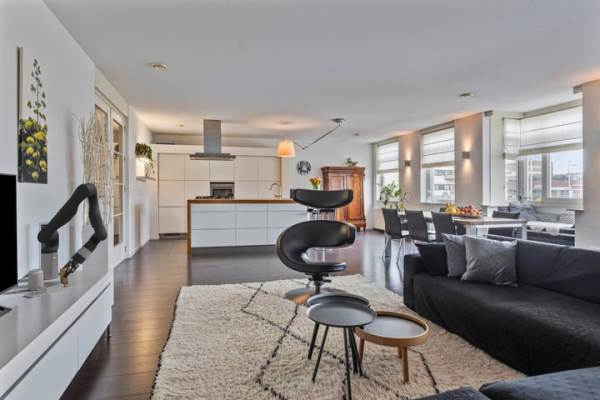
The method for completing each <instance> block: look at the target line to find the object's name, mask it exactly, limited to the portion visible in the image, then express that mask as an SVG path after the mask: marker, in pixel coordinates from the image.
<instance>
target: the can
mask: <svg viewBox="0 0 600 400" xmlns="http://www.w3.org/2000/svg"><path fill="white" fill-rule="evenodd" d="M44 280H45V279H43V271H42V269H41V268H35V269H29V270H28V272H27V287H28V290H29V291H31V292H35V291H38V286H39V285H44V284H45V283H44V282H45V281H44Z"/></svg>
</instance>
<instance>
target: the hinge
mask: <svg viewBox="0 0 600 400" xmlns="http://www.w3.org/2000/svg"><path fill="white" fill-rule="evenodd" d="M75 287H76V286H75V285H74V284H71V283H70V284H69V283H68V284H64V285H63V284H62V283H60V282H55V281H53V282H47V283H44V285H39V286H38V290H37V291H31V292H27V293H24V297H27V298H31V299H34V298H38V297H41V296H46V295H47V296H48V295H51V294H55V293H58V292H63V291H65V290H69V289H73V288H75Z"/></svg>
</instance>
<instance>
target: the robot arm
mask: <svg viewBox="0 0 600 400" xmlns="http://www.w3.org/2000/svg"><path fill="white" fill-rule="evenodd" d="M86 199H87V200H88V220H89V222H90V227H92V229H93V232H94V233H92V235H91V236H90V237H89V239H88V240H87V241H86V242H85V243H84V244H83V245H82V246H81V247H80V248H79V249H78V250H76V252H75V253H74V254H73V255H71V257H70V258H71V260H69V261H68V262H67V263H65V264H64V266H62V268H68V272H66V273H65V274H64V275H63V277H64V278H67V277H68V278H69V276H70V275H71V274H73V273H74V272H75V271H76V270H77V269H78V268H79V267H80V265H83V263H84V262H85V261H87V259H88V258H89V257H90V256H91V255H92V254H93V252H94V251H95V250H96V249H97V248H98V245H99V244H100V243H101V242H103V241H105V240H106V239H108V232H107V228H106V227H105V225H104V222H103V219H102V215H101V212H100V206H99V195H98V189H97V186H96V185H95V184H94V183H92V182H87V183H81V184H78V186H77V187H76V188H75V190H74V191H73V193H72V194H71V196H70V197H69V198H68V200H66V202H65V203H64V204H63V205H62V207H61V208H60V209H59V210H58V211H57V212H56V214H55V215H53V217H52V218H51V219H50V220H49V222H48V223H47V224H46V225H45V226H43V228H42V229H40V230H39V231H38V233H37V235H36V239H37V242H38V243H40V244H45V245H44V247H43V248H41V249H40V256H41V259H40V261H41V265H40V267H41V268H40V269H42V271H43V280H52V279H58V278H60V271H59V253H58V252H59V251H58V250H59V248H60V235H59V231H58V230H59V229H60V228H62V227H64V226H65V225H67V224H68V223H70V222H71V220H73V219H74V217H75V216H76V214H77V213H78V210H79V207H80V205H81V203H83V202H84V201H85V200H86Z"/></svg>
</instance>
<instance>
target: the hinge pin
mask: <svg viewBox="0 0 600 400" xmlns="http://www.w3.org/2000/svg"><path fill="white" fill-rule="evenodd" d="M66 272H68V268H63V267H61V268H59V273H60V275H59V278H60V279H59V280H60V281H59V283H62V284H63V285H64V284H69V276H68V277H67V278H64V277H63V275H64V274H65V273H66Z"/></svg>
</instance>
